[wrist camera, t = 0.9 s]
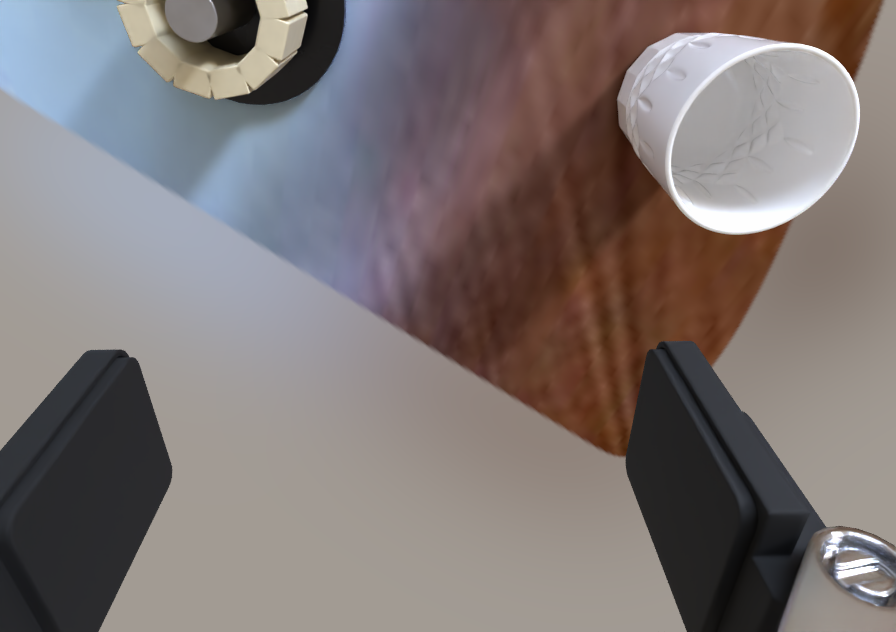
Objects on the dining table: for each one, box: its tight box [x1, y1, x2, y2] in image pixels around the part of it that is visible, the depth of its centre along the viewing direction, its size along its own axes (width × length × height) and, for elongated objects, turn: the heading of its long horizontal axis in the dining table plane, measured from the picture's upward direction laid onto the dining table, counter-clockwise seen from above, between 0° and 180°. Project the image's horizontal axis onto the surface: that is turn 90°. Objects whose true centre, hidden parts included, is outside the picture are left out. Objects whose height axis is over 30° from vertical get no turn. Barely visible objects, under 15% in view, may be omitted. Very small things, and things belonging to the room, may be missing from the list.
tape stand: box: [165, 0, 346, 105], centre depth 27 cm, size 10×10×8 cm
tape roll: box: [117, 0, 308, 100], centre depth 27 cm, size 7×7×4 cm
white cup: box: [617, 33, 860, 235], centre depth 29 cm, size 8×8×10 cm
